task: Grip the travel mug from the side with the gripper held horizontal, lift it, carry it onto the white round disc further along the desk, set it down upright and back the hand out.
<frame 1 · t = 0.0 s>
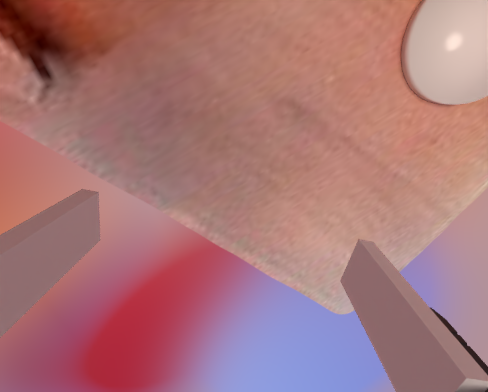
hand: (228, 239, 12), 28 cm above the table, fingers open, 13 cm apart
white round disc: (462, 40, 33), on the table
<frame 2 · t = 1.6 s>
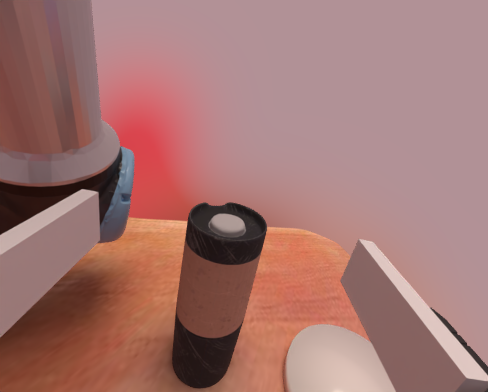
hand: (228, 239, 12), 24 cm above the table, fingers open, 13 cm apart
travel mug: (201, 357, 31), on the table
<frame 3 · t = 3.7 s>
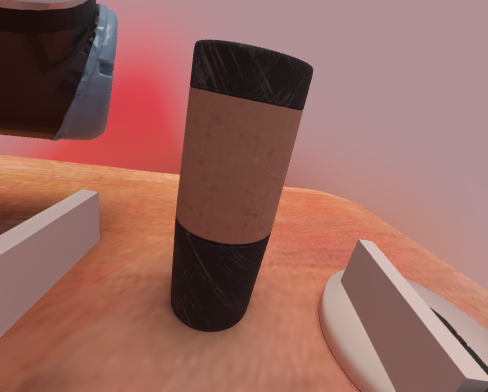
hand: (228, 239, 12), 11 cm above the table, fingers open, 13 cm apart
white round disc: (406, 343, 22), on the table
travel mug: (209, 299, 23), on the table
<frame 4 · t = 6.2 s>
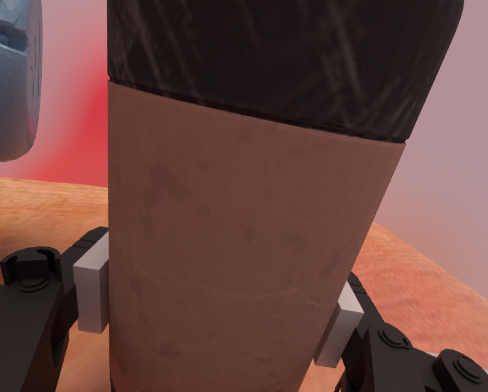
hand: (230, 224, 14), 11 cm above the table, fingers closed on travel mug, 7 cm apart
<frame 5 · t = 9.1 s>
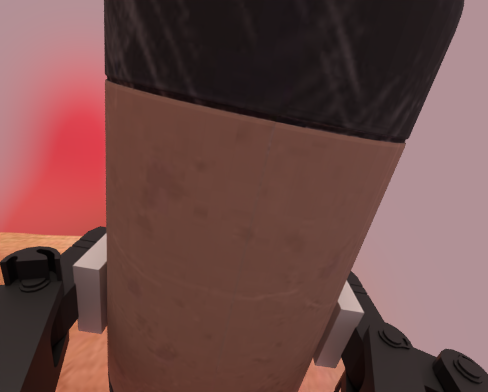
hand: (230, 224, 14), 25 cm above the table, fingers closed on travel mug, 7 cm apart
when the fingers open (14 cm above the table, at t = 12.3 s): travel mug drops 1 cm, resting on white round disc.
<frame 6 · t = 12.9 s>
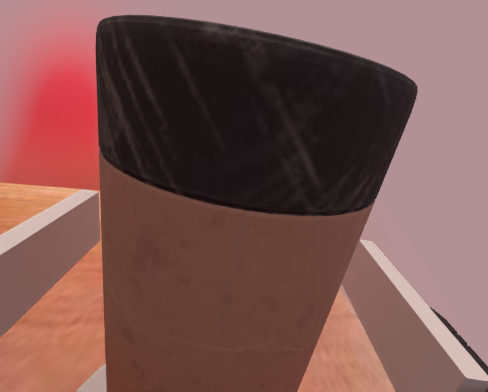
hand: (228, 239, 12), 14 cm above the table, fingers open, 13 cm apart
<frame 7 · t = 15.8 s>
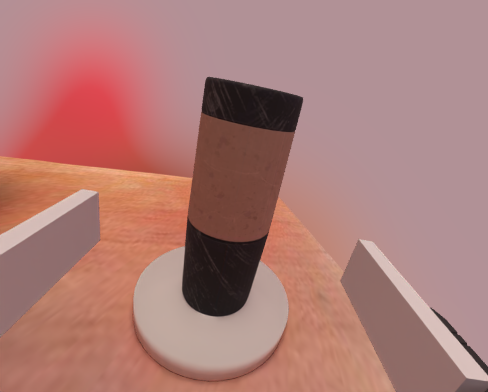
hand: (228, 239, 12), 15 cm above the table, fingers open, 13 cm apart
white round disc: (212, 301, 27), on the table
travel mug: (215, 290, 26), point 2 cm above the table, touching white round disc
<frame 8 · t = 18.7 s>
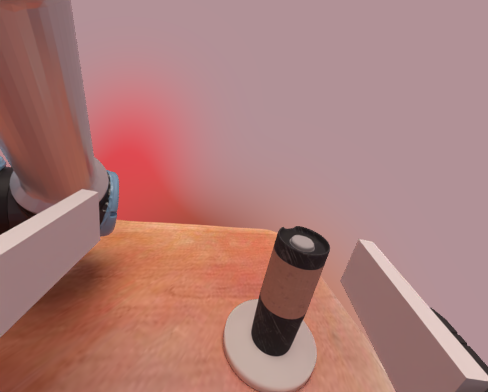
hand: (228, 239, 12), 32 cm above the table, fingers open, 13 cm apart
white round disc: (267, 343, 43), on the table
travel mug: (270, 337, 42), point 2 cm above the table, touching white round disc
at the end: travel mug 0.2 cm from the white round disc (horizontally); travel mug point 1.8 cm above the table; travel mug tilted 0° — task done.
